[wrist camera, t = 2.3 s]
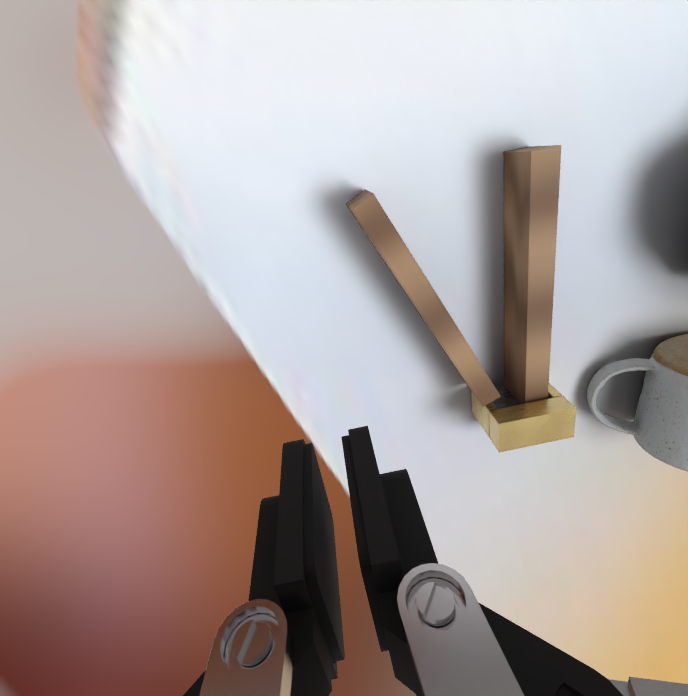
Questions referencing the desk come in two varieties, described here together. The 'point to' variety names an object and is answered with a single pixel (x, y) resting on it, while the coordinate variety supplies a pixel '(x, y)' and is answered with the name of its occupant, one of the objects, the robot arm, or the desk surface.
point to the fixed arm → (529, 267)
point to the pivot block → (505, 398)
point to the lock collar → (527, 421)
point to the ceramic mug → (654, 401)
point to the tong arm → (421, 294)
